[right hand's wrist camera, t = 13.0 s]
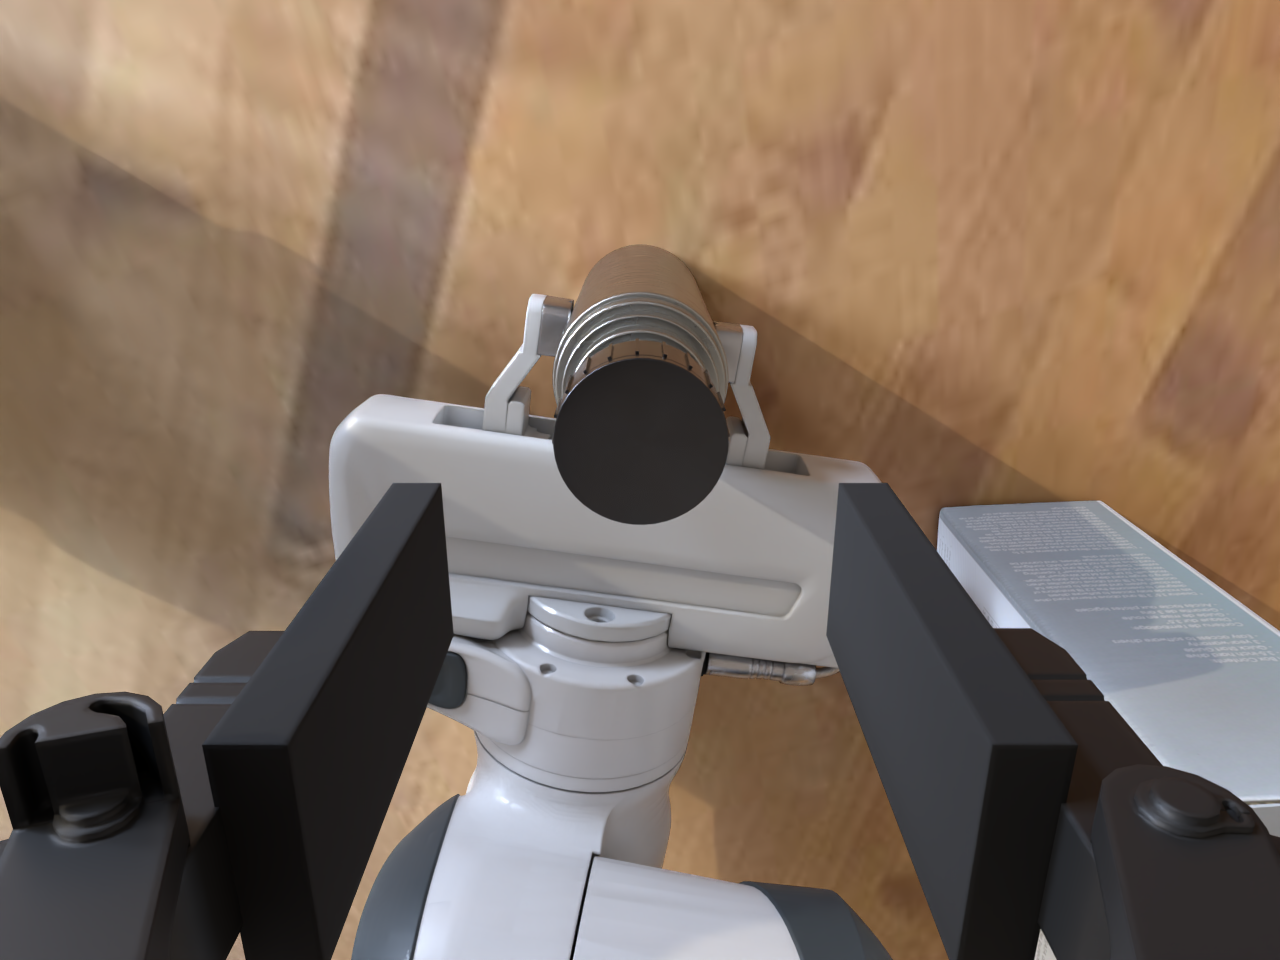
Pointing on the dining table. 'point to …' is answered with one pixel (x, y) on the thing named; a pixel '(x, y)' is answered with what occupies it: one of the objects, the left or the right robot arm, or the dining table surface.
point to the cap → (640, 433)
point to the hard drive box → (1133, 635)
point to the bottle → (640, 313)
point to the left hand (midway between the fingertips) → (642, 311)
